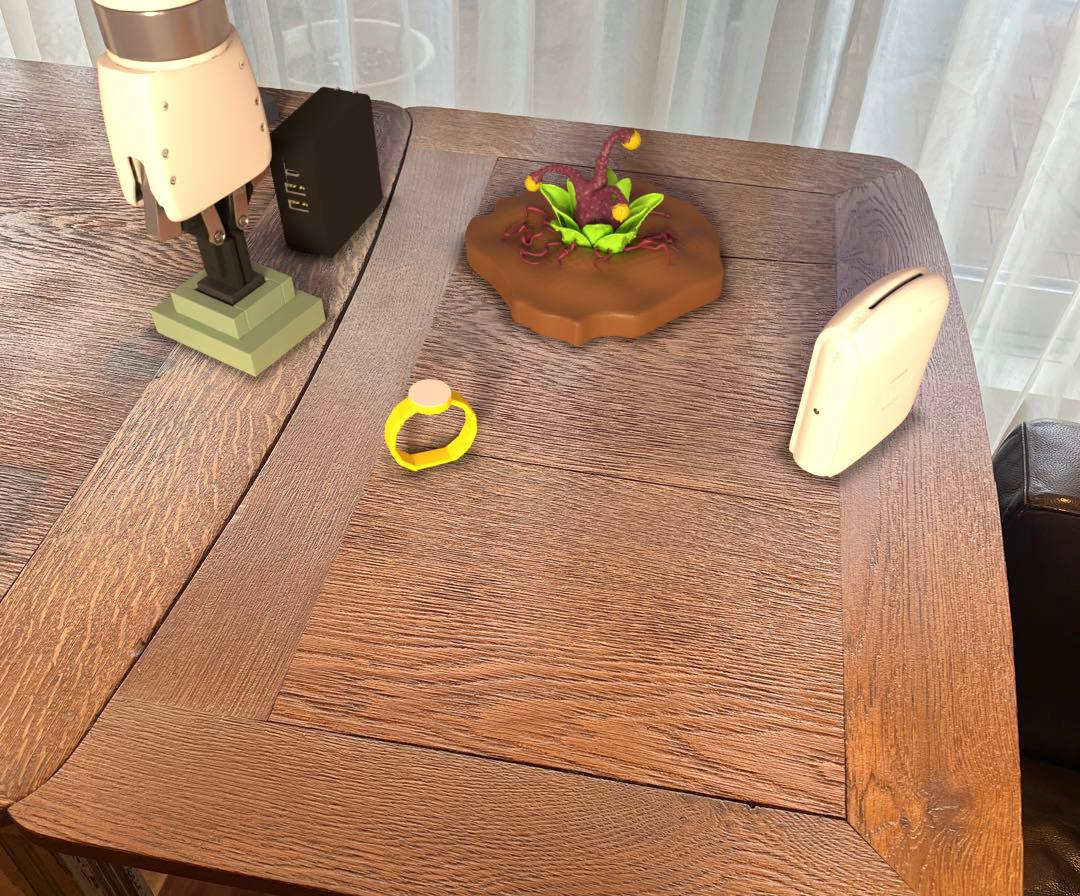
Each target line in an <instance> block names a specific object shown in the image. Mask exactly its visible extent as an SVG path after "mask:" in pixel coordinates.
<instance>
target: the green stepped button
mask: <svg viewBox="0 0 1080 896" xmlns="http://www.w3.org/2000/svg"><path fill="white" fill-rule="evenodd" d="M250 261H251V266H252V270H253V271H255V272H258V273H260V274H262V275H263V279H264V284H263V285H261V286H260V287H258V288H257V289H256V290H254V291H253V292H252V293H250V294H249V295H247V296H246V297H245V298H243V299H242V300H241V301H239V302H238V303H236V304H235V305H234V306H230V305H228V304H226V303H224V302H221V301H219V300H217V299H214V298H212V297H210V296H207V295H205V294H203V293H200V292H199V289H198V285H197V282H198V281H200V280H201V279H203V278H204V277H206V276H207V273H206V271H205V269H204V268H203V269H201V270H200V271H198V272H197V273H196V274H194V275H192V276H191V277H189V278H188V279H186V280H185V281H183V282H182V283H181V284H180V285H178V286H177V287H175V288H174V289H172V290H171V291H170V292H169V294H170V296H169V297H167V298H166V299H164V300H162V301H161V302H160V303H158V304H157V305H155V306H154V307H152V308H151V309H150V310H149V311H150V315H151V317H152V320H153V323H154V326H155V329H156V332H157V333H158V334H161V335H162V336H165V337H167V338H169V339H172V340H174V341H176V342H178V343H181V344H183V345H184V346H187V347H189V348H191V349H194V350H195V351H198V352H200V353H202V354H204V355H207V356H209V357H210V358H213V359H216V360H217V361H220V362H222V363H224V364H226V365H228V366H231V367H233V368H235V369H237V370H239V371H242V372H244V373H246V374H248V375H250V376H252V377H255V378H256V377H257V376H259V375H260V374H261V373H263V372H264V371H265V370H267V368H269V367H270V366H271V365H273V364H274V363H275V362H276V361H277V360H279V359H280V358H282V357H283V356H284V355H285V354H286V353H287V352H289V351H290V350H291V349H293V348H294V347H295V346H297V345H298V344H299V343H300V342H302V341H303V340H305V338H306V337H308V336H309V335H310V334H312V333H313V332H314V331H315V330H317V329H318V328H319V327H320V326H322V325H323V324H324V323H325V322H326V321H327V320H326V314H325V309H324V302H323V298H320V297H318V296H316V295H313V294H310V293H308V292H306V291H304V290H301V289H298V288H296V287H295V286H294V281H293V277H292V276H291V275H288V274H286V273H284V272H281V271H278V270H276V269H273V268H272V267H268V266H267V265H265V264H261V263H258V262H256V261H254V260H252V259H250Z"/></svg>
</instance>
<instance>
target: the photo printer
mask: <svg viewBox="0 0 1080 896" xmlns="http://www.w3.org/2000/svg"><path fill="white" fill-rule="evenodd" d="M949 304H950V290H949V287H948V284H947V283H946V280H945V278H944V277H943V276H942V274H941V273H938V272H934V271H931V270H930V269H929V268H928V267H927V266H925V265H915V266H910V267H906V268H902V269H899V270H896V271H894V272H891V273H889V274H887V275H885V276H883V277H882V278H880V279H877V280H875V281H874V282H873V283H870V284H869V285H867V286H866V288H864V289H863V290H861V291H860V292H859V293H857V294H856V295H855V296H854V297H852V298H851V299H850V300H849V301H848V302H846V303H845V304H844V305H843V306H842V307H841V308H840V309H839V310H838V311H837V312H835V314H834V315H833V316H832V317H831V318H830V319H829V321H827V323H826V324H825V325H824V326H823V328H822V329H821V331H820V333H819V334H818V335H817V338H816V340H815V342H814V346H813V351H812V354H811V359H810V362H809V366H808V369H807V374H806V379H805V382H804V387H803V389H802V394H801V398H800V403H799V406H798V410H797V413H796V414H797V415H796V418H795V422H794V426H793V429H792V433H791V436H790V441H789V447H788V450H789V452H790V453H791V454H792V455H793V456H792V457H793V460H794V462H795V463H796V464H797V465H798V467H799V468H801V470H804V471H805V472H807V473H810V474H812V475H814V476H820V477H828V478H831V477H834V476H836V475H838V474H840V473H841V472H843V471H844V470H846V469H847V468H849V467H851V465H853V464H854V463H855V462H857V461H858V460H859V459H861V458H862V457H863V456H865V454H868V452H869V451H871V450H872V449H874V447H876V446H877V445H878V444H879V443H880V442H882V441H883V440H884V439H885V438H886V437H887V436H888V435H890V434H891V433H892V432H893V431H894V430H895V429H896V428H897V427H899V426H900V425H901V424H902V423H903V422H904V421H905V419H906V418H907V416H908V415H909V413H910V411H911V409H912V407H913V405H914V403H915V400H916V396H917V395H918V392H919V390H920V386H921V383H922V381H923V378H924V375H925V373H926V370H927V367H928V364H929V361H930V359H931V356H932V353H933V350H934V347H935V345H936V341H937V340H938V337H939V334H940V331H941V328H942V325H943V322H944V319H945V317H946V314H947V311H948V309H949Z"/></svg>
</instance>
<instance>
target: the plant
mask: <svg viewBox="0 0 1080 896" xmlns="http://www.w3.org/2000/svg"><path fill="white" fill-rule="evenodd" d="M616 141H620V142H621V145H622V146H623V148H625V149H627V150H628V151H634V150H636V149H638V148H639V146H641V143H642V137H641V134H640V132H638V131H637V130H636V129H634V128H631V127H629V128H627V127H625V128H620V129H618V130H617V131H616V130H615V131H612V132H611V135H610V136H609V137H608V138H607V140H605V141H604V142H603V145H602V146H603V147H602V149H601V150H600V151H599V153H598V157H597V158H596V160H595V167H594V172H593V177H584V176H583V175H581V173H580V172H578V169H574V168H573V166H568V165H566V164H559V163H556V164H554V163H551V164H549V165H545V166H544V167H541V168H539V170H535V171H533V172H531V173H529V174H528V175H527V176H526V178H525V180H524V186H525V189H526V191H525V192H524V193H523V194H520V195H515V196H508V197H507V196H506V197H501V198H499V199H497V201H496V202H495V206H494V209H493V211H492V212H490V213H488V214H486V215H480V216H474V217H472V218H470V221H469V222H468V225H467V226H466V229H465V234H464V241H465V242H464V243H465V256H466V261H467V264H468V265H469V267H470V268H471V269H472V271H474V272H475V273H476V274H477V275H478V276H480V277H481V278H482V280H483V279H484V281H486V282H488V283H489V284H490V285H491V286H492V287H493V289H495V291H496V292H497V293H498V295H499V296H500V297H501V298H502V300H503V301H504V303H505V304H506V306H507V307H508V308H509V312H510V317H511V319H512V320H513V321H514V322H515V323H516V324H519V325H522V326H525V327H527V328H528V329H529V330H531V331H533V332H535V333H537V334H539V335H541V336H543V337H547V338H553V339H558V340H560V341H563V342H565V343H568V344H570V345H572V346H575V347H579V346H582V345H584V344H585V343H587V342H589V341H591V340H594V339H597V338H601V337H623V338H629V339H634V338H639V337H641V336H645V335H647V334H649V333H651V332H653V331H654V330H656V329H658V328H660V327H662V326H665V325H666V324H669V323H670V322H672V321H674V320H676V319H678V318H679V317H681V316H683V315H686V314H687V313H689V312H691V311H692V312H693V311H695V310H696V309H699V308H701V307H704V306H705V305H708V304H709V303H712V302H714V301H715V300H717V299H719V298H720V297H721V295H722V291H723V285H724V280H725V279H724V278H725V269H724V267H723V262H722V258H721V249H722V242H721V239H720V236H719V234H718V231H717V230H716V229H715V227H714V226H713V224H711V223H710V222H709V220H708V219H706V217H705V216H704V215H703V214H702V213H701V212H700V211H699V210H698V208H697V207H696V206H695V205H694V204H692V203H691V202H688V201H685V200H682V199H678V198H676V197H673V196H672V195H669V194H668V193H667V192H665V191H664V190H663V189H661V188H660V187H658V186H656V185H655V184H653V183H651V182H649V181H648V180H647V179H645V178H629V177H625V178H623V177H621V178H620V177H617V174H616V173H615V171H614V170H613V169H612V168H610V167H609V166H608V165H609V163H610V159H609V158H610V155H611V152H612V149H613V146H614V144H615V143H616ZM552 172H553V173H560V174H561V175H565V177H567V180H566V183H564V184H561V185H559V186H558V185H555V184H550V183H543V177H544V175H545V174H547V173H548V174H551V173H552Z"/></svg>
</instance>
